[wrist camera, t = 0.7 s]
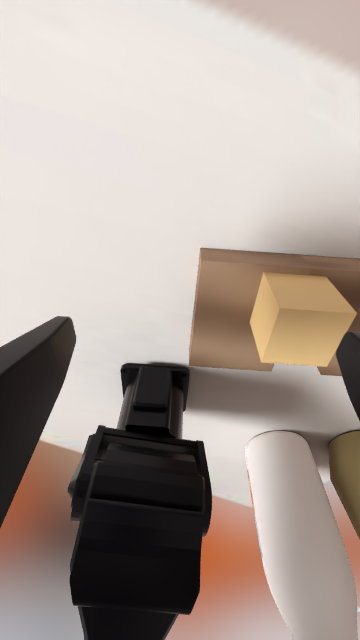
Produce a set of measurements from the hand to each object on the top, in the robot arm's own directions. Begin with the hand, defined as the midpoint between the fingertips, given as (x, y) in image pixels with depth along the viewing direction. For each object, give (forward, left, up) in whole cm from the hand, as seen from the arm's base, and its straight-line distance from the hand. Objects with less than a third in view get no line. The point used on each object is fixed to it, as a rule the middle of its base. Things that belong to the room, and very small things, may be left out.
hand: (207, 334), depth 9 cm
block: (-4, -6, -9) cm, 11 cm away
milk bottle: (-26, -12, -11) cm, 31 cm away
